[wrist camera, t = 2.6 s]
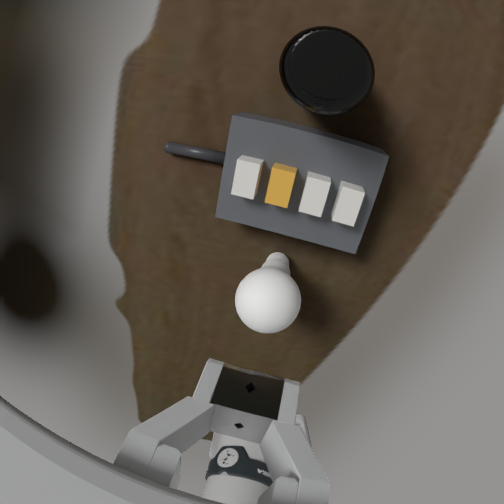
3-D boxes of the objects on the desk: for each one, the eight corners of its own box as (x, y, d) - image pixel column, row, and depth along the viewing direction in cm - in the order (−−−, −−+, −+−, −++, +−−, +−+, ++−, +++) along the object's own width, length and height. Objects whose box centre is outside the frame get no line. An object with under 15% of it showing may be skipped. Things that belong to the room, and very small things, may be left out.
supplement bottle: (375, 79, 25) (408, 74, 15) (325, 124, 29) (329, 143, 18) (323, 29, 24) (325, -6, 14) (273, 75, 27) (247, 66, 17)
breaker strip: (381, 148, 29) (393, 160, 24) (352, 236, 34) (356, 263, 29) (172, 100, 30) (145, 105, 25) (162, 187, 35) (137, 206, 30)
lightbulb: (317, 258, 36) (313, 323, 26) (280, 289, 39) (266, 356, 29) (276, 223, 35) (258, 279, 25) (241, 258, 38) (214, 318, 28)
